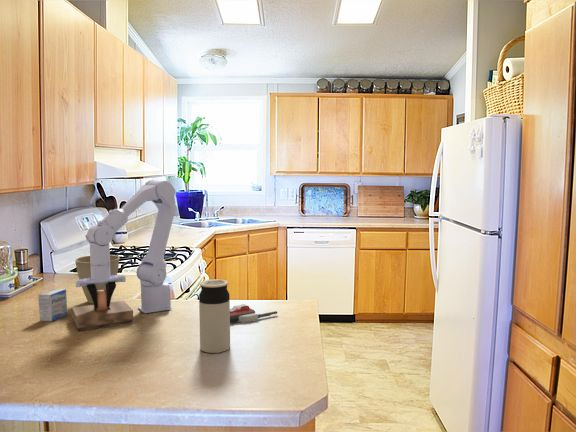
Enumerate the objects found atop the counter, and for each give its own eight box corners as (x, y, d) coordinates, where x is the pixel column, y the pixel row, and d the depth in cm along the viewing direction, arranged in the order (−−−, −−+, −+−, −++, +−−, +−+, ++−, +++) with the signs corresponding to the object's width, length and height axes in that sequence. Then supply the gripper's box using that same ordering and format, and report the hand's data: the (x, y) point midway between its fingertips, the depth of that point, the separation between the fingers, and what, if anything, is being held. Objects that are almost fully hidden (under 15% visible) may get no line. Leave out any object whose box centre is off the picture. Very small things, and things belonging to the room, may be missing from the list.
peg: (108, 311, 156) (107, 289, 155) (106, 314, 152) (105, 292, 152) (98, 311, 155) (97, 289, 154) (95, 314, 152) (94, 292, 151)
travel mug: (236, 347, 131) (235, 282, 129) (213, 356, 125) (212, 287, 123) (217, 340, 136) (216, 277, 134) (194, 348, 130) (192, 282, 129)
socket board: (124, 312, 164) (123, 300, 163) (133, 322, 152) (132, 310, 152) (72, 319, 156) (72, 307, 155) (77, 331, 144) (77, 318, 144)
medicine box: (51, 322, 154) (50, 295, 153) (39, 321, 154) (37, 294, 154) (67, 314, 161) (66, 288, 160) (55, 313, 162) (54, 288, 161)
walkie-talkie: (223, 328, 148) (279, 317, 159) (223, 314, 147) (278, 304, 159) (211, 321, 155) (265, 311, 166) (210, 307, 155) (264, 298, 166)
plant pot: (68, 306, 171) (66, 261, 170) (92, 295, 186) (90, 254, 184) (107, 308, 168) (105, 262, 167) (128, 297, 183) (127, 255, 182)
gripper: (121, 259, 159) (123, 300, 161) (73, 264, 152) (75, 306, 153) (126, 263, 153) (127, 305, 155) (76, 268, 146) (78, 312, 147)
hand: (102, 306), depth 154 cm, fingers closed on peg, 3 cm apart
